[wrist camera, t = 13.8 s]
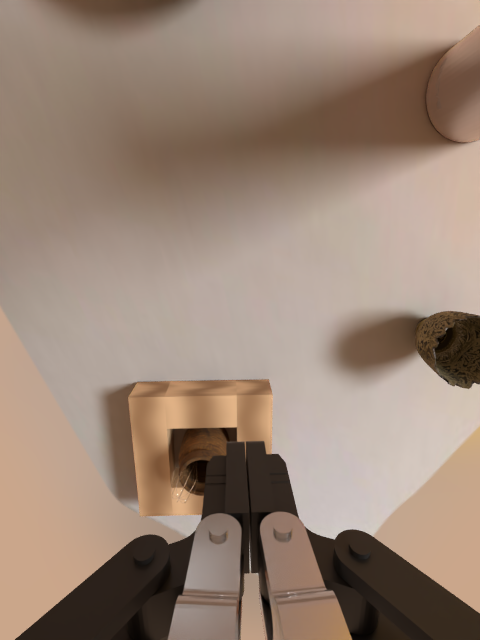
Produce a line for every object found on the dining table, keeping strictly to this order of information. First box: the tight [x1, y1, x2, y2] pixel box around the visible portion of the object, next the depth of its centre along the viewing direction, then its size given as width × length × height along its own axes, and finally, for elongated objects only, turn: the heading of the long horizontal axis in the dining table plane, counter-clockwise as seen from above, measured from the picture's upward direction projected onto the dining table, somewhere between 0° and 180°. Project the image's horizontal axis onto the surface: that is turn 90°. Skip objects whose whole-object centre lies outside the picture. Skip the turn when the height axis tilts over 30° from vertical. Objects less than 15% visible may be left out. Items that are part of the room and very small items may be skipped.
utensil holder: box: [171, 428, 230, 503], centre depth 38 cm, size 6×6×12 cm
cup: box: [415, 311, 480, 389], centre depth 37 cm, size 8×7×8 cm
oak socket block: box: [128, 379, 273, 516], centre depth 42 cm, size 16×16×4 cm
